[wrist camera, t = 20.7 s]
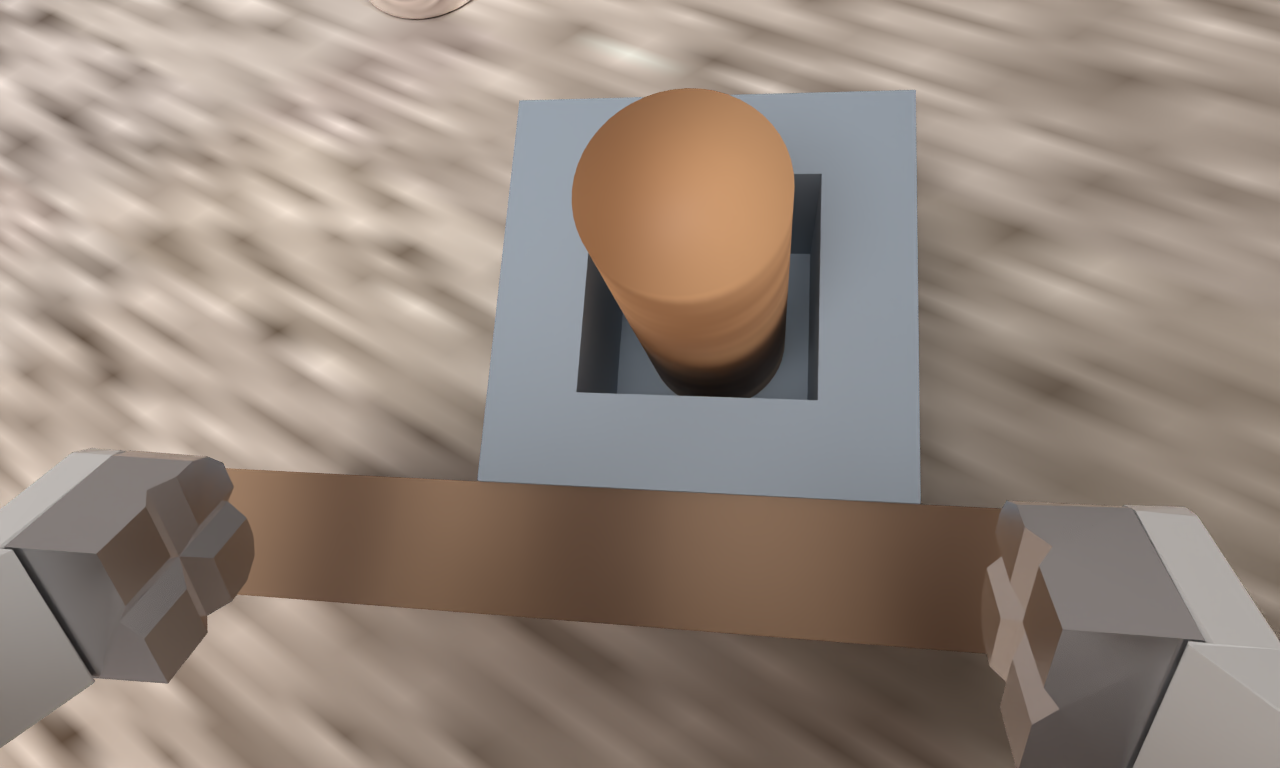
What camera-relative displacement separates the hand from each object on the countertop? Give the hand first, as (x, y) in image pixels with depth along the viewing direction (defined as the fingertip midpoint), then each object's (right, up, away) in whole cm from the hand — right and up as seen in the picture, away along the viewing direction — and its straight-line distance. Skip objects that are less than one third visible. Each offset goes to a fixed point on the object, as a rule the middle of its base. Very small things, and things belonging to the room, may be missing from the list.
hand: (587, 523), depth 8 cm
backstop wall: (0, -4, +16) cm, 16 cm away
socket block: (+3, +3, +17) cm, 17 cm away
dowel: (+3, +3, +16) cm, 16 cm away
